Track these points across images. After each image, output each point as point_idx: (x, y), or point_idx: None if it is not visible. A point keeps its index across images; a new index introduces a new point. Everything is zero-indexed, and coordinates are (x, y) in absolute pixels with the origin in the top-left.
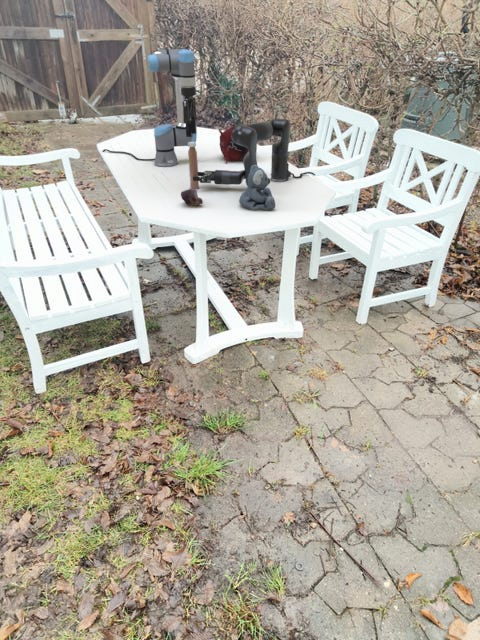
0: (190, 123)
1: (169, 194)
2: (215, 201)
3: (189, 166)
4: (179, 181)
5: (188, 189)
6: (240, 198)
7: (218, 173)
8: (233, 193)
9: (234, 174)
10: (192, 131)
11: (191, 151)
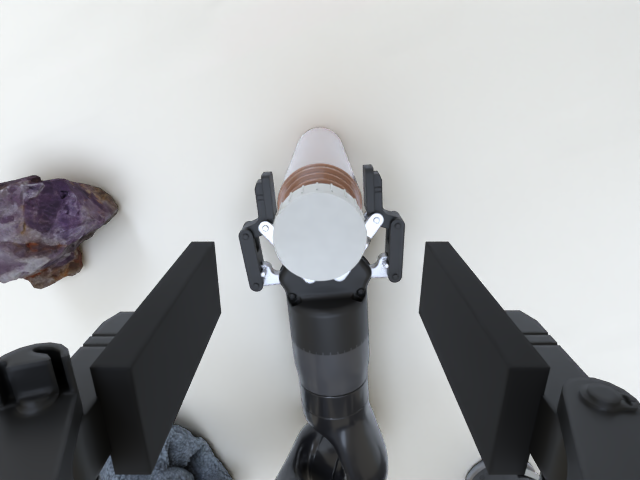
0: (131, 471)
1: (173, 35)
2: None
3: (297, 153)
4: (429, 8)
5: (17, 228)
6: None
7: (301, 333)
8: (281, 352)
9: (311, 408)
10: (432, 280)
11: None
